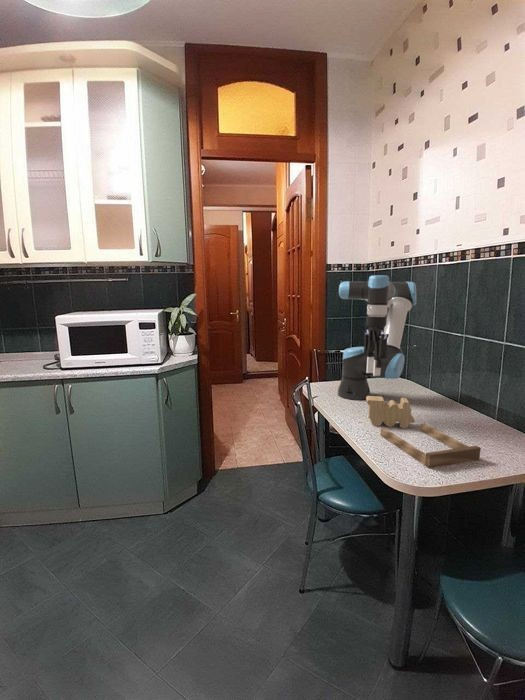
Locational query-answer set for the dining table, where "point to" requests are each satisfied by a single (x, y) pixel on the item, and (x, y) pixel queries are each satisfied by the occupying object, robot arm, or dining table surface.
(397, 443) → the frame
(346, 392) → the robot arm
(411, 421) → the toy train
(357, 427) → the dining table surface
